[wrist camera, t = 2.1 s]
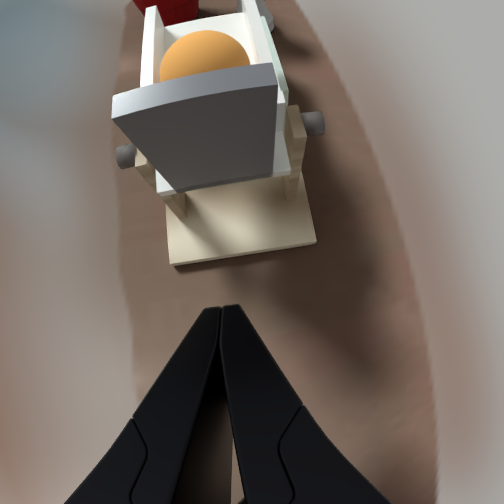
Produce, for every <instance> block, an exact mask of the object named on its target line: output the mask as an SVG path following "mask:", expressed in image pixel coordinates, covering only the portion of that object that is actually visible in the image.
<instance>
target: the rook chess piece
mask: <svg viewBox="0 0 504 504" xmlns="http://www.w3.org/2000/svg"><path fill="white" fill-rule="evenodd" d="M255 2H256V5H257V8H258V12H259V15H260V16H264V17H265V19H266V22H267V25H268V28H269V31H270V32H271V31H272V30H273V28H274V23H273V21H274V20H273V16H272V14H271V13H270V12H269V10H268V9H267V8H266V6H265V2H264V0H255ZM235 13H242V1H241V0H238V7H237V10H236V11H235Z"/></svg>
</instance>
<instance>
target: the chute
mask: <svg viewBox="0 0 504 504" xmlns="http://www.w3.org/2000/svg"><path fill="white" fill-rule="evenodd" d="M241 1H242V13H234V14H227V15H220V16H214V17H209V18H203V19H198V20H193V21H188V22H184V23H179V24H175V25H171V26H167V27H164V25H163V22H162V20H161V17H160V14H159V12H158V9H157V6H156V5H155V6H152V7H148V8H146V13H145V23H144V34H143V47H142V62H141V84H140V88H137V89H133V90H130V91H127V92H123V93H120V94H117V95H114V96H113V103H112V120H113V121H114V122H115V123H116V124H117V126H118V127H119V128H120V129H121V130H122V131H123V132H124V134H125V135H126V136H127V137H128V138H129V139H130V140H131V142H132V143H133V144H134V145H135V146H136V147H137V148H138V150H139V151H140V152H141V153H142V154H143V155H144V156H145V158H146V159H147V160H148V161H149V162H150V163H151V164H152V165H153V167H154V168H155V170H156V186H157V193H158V194H159V195H160V196H166V195H171V194H176V193H182V192H187V191H192V190H198V189H203V188H209V187H214V186H220V185H226V184H232V183H238V182H244V181H251V180H257V179H264V178H271V177H278V176H285V175H290V172H291V168H290V163H289V158H288V154H287V149H286V144H285V140H284V135H283V122H284V112H285V99H284V95H283V91H281V90H280V86H279V82H278V79H277V75H276V71H275V67H274V64H273V60H272V56H271V53H270V49H269V46H268V42H267V39H266V35H265V32H264V28H263V25H262V21H261V18H260V15H259V12H258V8H257V5H256V2H255V0H241ZM202 30H213V31H218V32H222V33H225V34H227V35H229V36H231V37H232V38H234V39H235V40H237V41H238V42H239V43H240V44H241V45H242V47H243V48H244V49H245V51H246V53H247V55H248V57H249V60H250V65H246V66H239V67H232V68H226V69H220V70H214V71H209V72H203V73H198V74H193V75H189V76H184V77H180V78H175V79H171V80H167V81H163V82H160V66H161V62H162V60H163V57H164V55H165V53H166V52H167V50H168V49H169V48H170V47H171V46H172V44H173V43H175V42H176V41H177V40H178V39H180V38H181V37H183V36H185V35H187V34H190V33H192V32H196V31H202Z"/></svg>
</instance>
